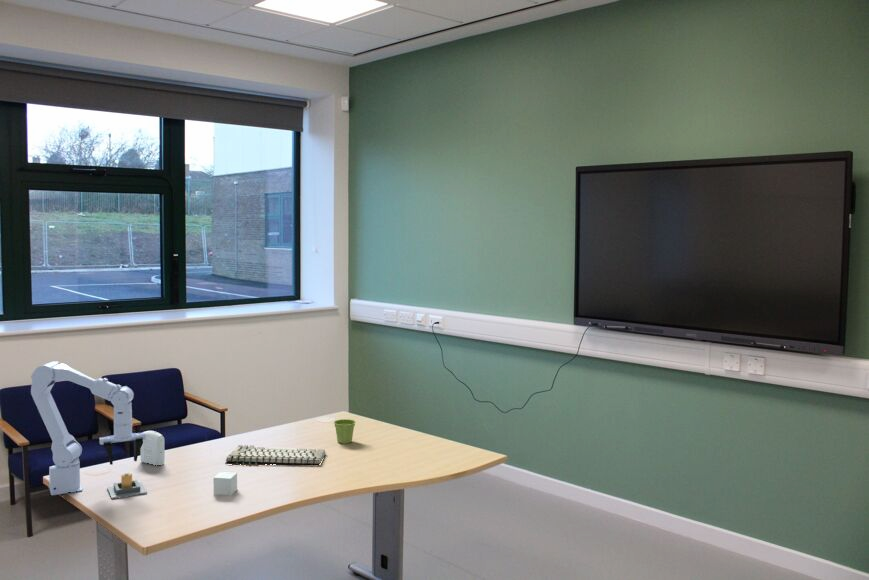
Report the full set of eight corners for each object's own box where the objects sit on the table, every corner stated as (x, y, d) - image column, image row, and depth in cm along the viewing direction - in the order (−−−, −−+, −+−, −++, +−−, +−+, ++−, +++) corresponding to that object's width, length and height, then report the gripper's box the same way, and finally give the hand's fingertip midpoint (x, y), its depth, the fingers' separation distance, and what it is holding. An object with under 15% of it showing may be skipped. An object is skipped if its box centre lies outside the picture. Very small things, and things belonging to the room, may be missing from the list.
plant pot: (331, 439, 312) (331, 419, 312) (353, 438, 315) (353, 418, 314) (335, 445, 304) (335, 425, 303) (357, 444, 306) (357, 424, 306)
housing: (111, 499, 240) (111, 492, 239) (107, 488, 249) (107, 482, 249) (147, 493, 245) (146, 487, 245) (141, 483, 255) (141, 477, 255)
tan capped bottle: (122, 492, 245) (122, 475, 244) (120, 488, 248) (120, 472, 247) (133, 490, 247) (132, 474, 246) (131, 487, 250) (131, 471, 249)
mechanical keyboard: (327, 453, 295) (327, 445, 295) (320, 469, 276) (320, 460, 276) (234, 452, 295) (234, 443, 295) (221, 467, 276) (221, 459, 276)
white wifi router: (166, 464, 276) (166, 432, 275) (157, 467, 273) (156, 434, 272) (148, 459, 281) (147, 428, 280) (138, 462, 278) (138, 430, 277)
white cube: (220, 488, 252) (220, 471, 251) (237, 489, 251) (237, 472, 251) (213, 494, 246) (213, 477, 245) (230, 495, 245) (230, 478, 245)
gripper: (100, 428, 241) (101, 468, 242) (147, 423, 248) (147, 462, 249) (98, 423, 247) (99, 462, 248) (144, 418, 254) (144, 456, 255)
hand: (123, 462), depth 249 cm, fingers open, 7 cm apart
